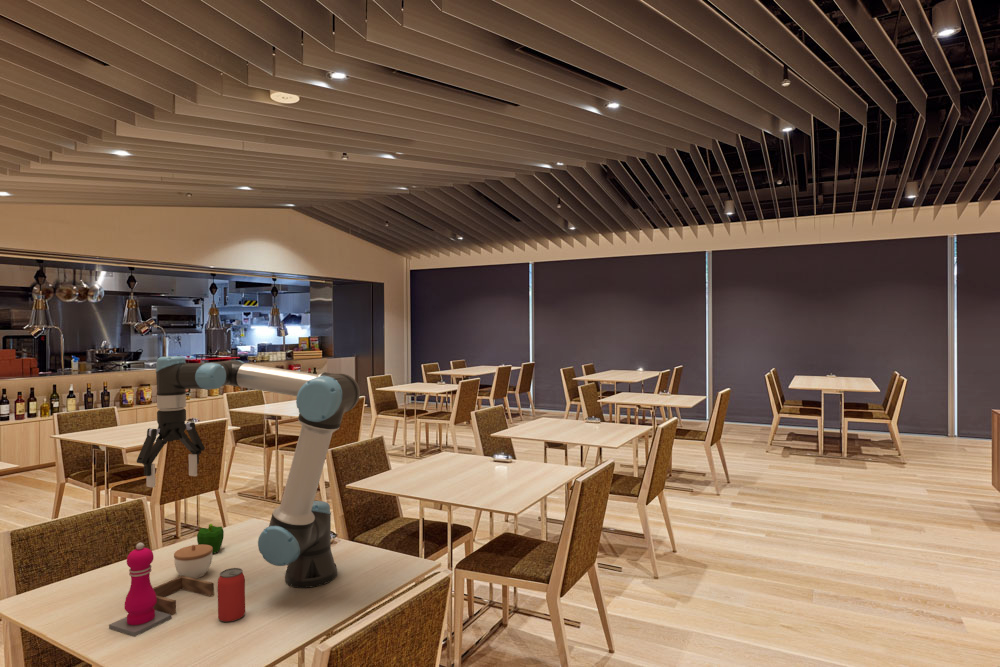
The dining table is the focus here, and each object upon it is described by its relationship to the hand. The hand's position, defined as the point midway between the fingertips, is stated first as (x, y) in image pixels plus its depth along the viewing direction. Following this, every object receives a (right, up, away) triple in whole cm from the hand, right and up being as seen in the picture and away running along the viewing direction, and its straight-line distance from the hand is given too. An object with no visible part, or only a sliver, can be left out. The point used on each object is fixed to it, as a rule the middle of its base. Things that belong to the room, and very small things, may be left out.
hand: (172, 481), depth 176 cm
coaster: (+3, -32, -21) cm, 38 cm away
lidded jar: (+1, -32, +10) cm, 33 cm away
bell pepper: (-3, -32, +29) cm, 43 cm away
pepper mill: (+3, -31, -21) cm, 37 cm away
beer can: (+25, -32, -17) cm, 44 cm away
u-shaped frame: (+6, -32, -8) cm, 33 cm away
